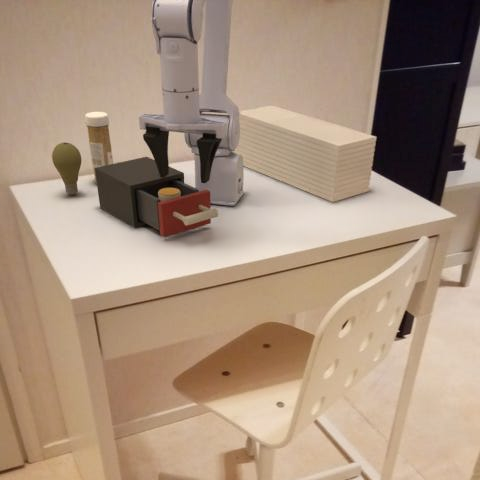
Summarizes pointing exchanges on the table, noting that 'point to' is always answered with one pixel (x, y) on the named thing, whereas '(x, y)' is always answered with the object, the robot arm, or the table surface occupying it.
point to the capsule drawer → (174, 208)
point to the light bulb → (67, 165)
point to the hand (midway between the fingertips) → (184, 178)
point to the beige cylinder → (168, 193)
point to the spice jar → (99, 139)
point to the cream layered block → (306, 152)
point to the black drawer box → (128, 186)
